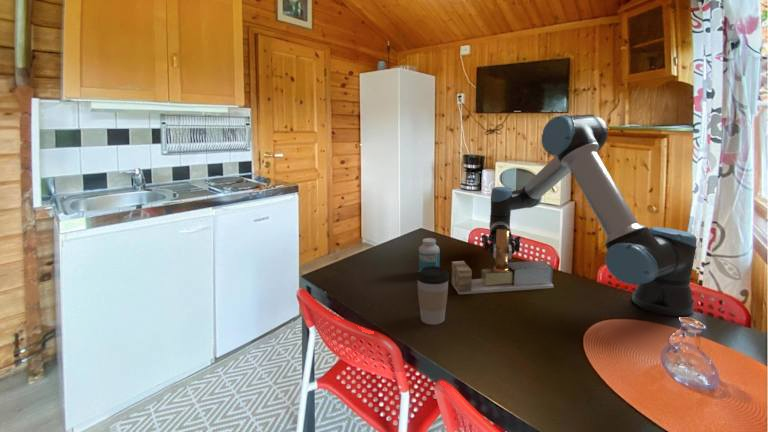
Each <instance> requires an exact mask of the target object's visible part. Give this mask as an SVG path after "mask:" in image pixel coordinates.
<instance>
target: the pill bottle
mask: <svg viewBox="0 0 768 432" xmlns="http://www.w3.org/2000/svg"><path fill="white" fill-rule="evenodd" d="M436 243H437V240H436V239H435V238H432V237H428V238H427V237H426V238H423V239H422V244H421V245H420V246H419V248H418V273H419V272H420V271H421V270H422V269H423V268H425V267H431V266H434V267H440V266H441V265H440V262H441V261H440V257H441V256H440V255H441V254H440V253H441V251H440V247H439V246H438V245H437V244H436ZM440 268H441V267H440Z"/></svg>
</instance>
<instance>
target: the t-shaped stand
mask: <svg viewBox="0 0 768 432" xmlns="http://www.w3.org/2000/svg"><path fill="white" fill-rule="evenodd" d="M508 248H509V230H508V229H502V228H501V229H497V233H496V258H494V261H495V262H494V266H493V268H484V269H481V275H480V276H481V278H480V279H481V281H482V282H483V283H484V284H485V285H495V284H510V283H513V282H514V271H513V270H512V269H511V268H508V263H509V256H508Z"/></svg>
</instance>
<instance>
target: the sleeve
mask: <svg viewBox="0 0 768 432" xmlns="http://www.w3.org/2000/svg"><path fill="white" fill-rule="evenodd" d="M508 268H511V269H512V270H513V271H514V282H513V285H514V286H526V285H540V284H553V275H554V267H553V266H552V265H550V264H549V263H547V262H546V261H545V260H532V261H531V260H530V261H529V260H527V261H517V262H516V261H515V262H508Z"/></svg>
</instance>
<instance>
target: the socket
mask: <svg viewBox="0 0 768 432" xmlns="http://www.w3.org/2000/svg"><path fill="white" fill-rule="evenodd" d="M472 273H473V270H472V269H471V268H470V267H469V265H468V264H467V263H466V262H465V260H458V261H457V260H456V261H451V283H452V282H453V284H454V285H455V287H456V288H457V290H458V291H459V292H461V291H468V292H469V291H471V282H472V279H473V278H472V276H473V275H472Z"/></svg>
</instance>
